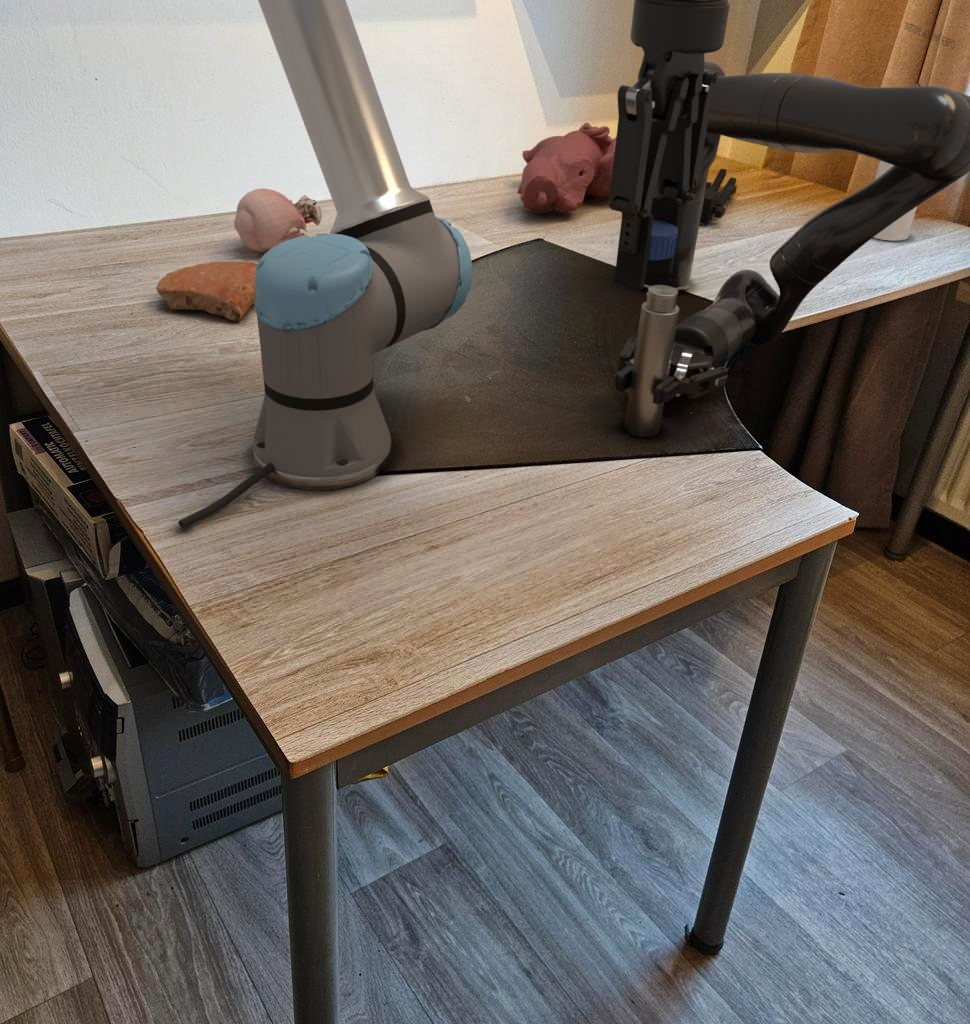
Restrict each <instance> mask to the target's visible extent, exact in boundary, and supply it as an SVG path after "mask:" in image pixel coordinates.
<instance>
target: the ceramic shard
mask: <svg viewBox="0 0 970 1024" xmlns="http://www.w3.org/2000/svg"><path fill="white" fill-rule="evenodd" d="M257 265H258V263H256V262H252V261H210V262H206V263H205V262H204V263H199V264H195V265H192V266H186V267H185V266H184V267H183V268H179V269H177V270H174V271H171V272H168V273H166V274H165V276H163V277H162V278H161V279H159V281H158V283H157V285H156V288H155V289H156V292H157V294H159V295H160V296H161V297H162V298H163V299H164V300H165V302H166V304H167V305H168V307H169V309H172V310H190V311H191V310H195V311H196V310H201V311H206V312H207V313H210V314H211V315H218V316H222V317H225V319H228V320H230V321H234V322H236V321H237V322H238V321H241V319H242V318H243V317H244V316H245V314H246V313H247V312H248V310H249V309H250V308H251V306H252V305H254V297H255V292H256V288H255V272H256V268H257Z"/></svg>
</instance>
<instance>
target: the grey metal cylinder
mask: <svg viewBox="0 0 970 1024" xmlns="http://www.w3.org/2000/svg"><path fill="white" fill-rule="evenodd" d="M678 296H679V292H678V291H677V289H675V288H673V287H670V286H666V285H654V286H651V287H649V289H648V290H647V292H646V301H644V302H643V303H642V304H641V308H640V315H639V323H638V324H639V325H638V330H637V337H636V339H637V343H636V350H635V357H634V364H633V371H632V378H631V385H630V387H629V392H628V400H627V407H626V414H625V420H624V429H625V431H626V432H627V433H628V434H630V435H632V436H635V437H640V438H652V437H655V436H657V435H658V434H659V433H660V429H661V424H662V417H663V410H664V405H665V402H662V403H661V404H660V405H658V404H655V403H653V397H654V391H655V388H656V386H657V385H659V384H660V383H661V382H663V381H664V380H665V379H667V378H668V376H669V370H670V364H671V358H672V352H673V346H674V340H675V334H676V328H677V325H678V320H679V315H680V307H679V306H678V304H677V302H678Z"/></svg>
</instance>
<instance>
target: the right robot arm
mask: <svg viewBox="0 0 970 1024" xmlns="http://www.w3.org/2000/svg"><path fill="white" fill-rule="evenodd" d="M704 61H705V68H704V69H705V70H709V71H715V72H718V80H717V84H716V87H715V90H714V94H713V97H712V101H711V106H710V113H709V119H708V125H707V131H706V137H705V143H704V149H703V156H702V162H701V168H700V174H699V180H698V184H697V186H696V188H694V189H693V188H689V190H690V191H694V192H696V196H695V198H694V200H693V201H692V202H691V201H686V200H682V202H683V206H682V213H681V219H680V225H679V232H678V239H677V246H676V252H675V257H674V264H673V270H672V272H671V273H669V274H667V273H664V272H660V271H656V270H653V269H649V268H647V270H646V277H645V284H644V288H642V290H646V291H648V289H649V287H651V286H654V285H666V286H670V287H673V288H675V289H677V291H678V293H680V292H684V291H686V290H688V289H689V288H690V285H691V276H692V270H693V264H694V259H695V254H696V249H697V248H696V247H697V242H698V235H699V231H700V225H701V224H700V218H701V212H702V207H703V201H704V194H705V188H706V182H708V176H709V172H710V168H711V166H712V165H713V164H714V162H715V159H716V157H717V154H718V150H719V146H720V140H721V136H722V137H727V138H730V139H734V140H737V141H741V142H745V143H746V142H747V143H751V144H755V145H760V146H764V147H768V148H772V149H776V150H782V151H788V152H793V153H802V154H803V153H804V154H823V153H828V152H829V153H830V152H831V153H832V152H849V153H853V154H857V155H861V156H864V157H868V158H872V159H874V160H876V161H877V160H878V161H879V162H880V161H883V162H886V163H889V164H892V165H893V166H892V167H891V168H890V169H889V170H887V171H886V172H885V173H884V174H882V175H881V176H880V177H878V178H877V179H875V178H874V180H873V181H871V182H869V183H868V184H867V185H865V186H863V187H861V188H859V189H858V190H857V191H855V192H853V193H851V194H850V195H848V196H845V197H844V198H842V199H840V200H838V201H836V202H834V203H833V204H831V205H829V206H827V207H825V208H824V209H822V210H821V211H820V212H818V213H816V214H815V215H813V217H811V218H810V219H809V220H807V221H806V222H805V223H804V224H802V226H801V227H800V228H799V229H797V231H795V233H793V234H792V235H791V236H790V237H789V238H788V239H786V241H785V242H784V243H783V244H782V245H781V246H780V247H779V248H778V249H777V250H775V252H774V253H773V254H772V256H771V257H770V259H769V270H770V272H771V275H772V278H773V279H774V281H775V282H776V286H777V288H778V290H779V294H778V293H777V291H776V290H775V289H774V288H773V287H772V286H771V285H770V283H769V282H767V280H766V279H765V278H764V277H763V276H762V275H761V274H760V273H759V272H758V271H755V270H753V269H742V270H739V271H737V272H735V273H733V274H732V275H730V277H729V278H728V279H726V280H725V282H724V283H723V284H722V285H721V287H720V288H719V290H718V292H717V294H716V295H715V298H714V300H713V303H712V304H710V305H709V306H707V307H706V308H705V309H702V310H700V311H697V312H695V313H693V314H692V315H690V316H689V317H687V318H686V319H684V320H683V321H681V322H680V323H677V328H676V334H675V340H674V346H673V352H672V358H671V364H670V370H669V376H668V378H667V379H665V380H664V381H663V382H661V383H660V384H659V385H657V386H656V388H655V391H654V397H653V403H655V404H658V405H660V404H661V403H662V402H664V403H668V402H669V401H670V400H672V399H674V398H675V397H681V396H682V394H685V395H686V397H687V398H688V399H690V400H696V399H699V398H701V397H705V396H707V395H710V394H713V393H715V392H716V393H717V392H719V391H721V390H724V389H725V386H726V383H727V378H728V373H729V368H728V367H726V366H724V365H725V364H726V363H728V362H729V360H731V359H732V358H733V356H734V355H735V354H737V352H738V351H740V350H741V349H742V348H743V347H745V346H746V345H747V344H748V343H750V344H752V345H756V346H761V345H766V344H769V343H771V342H774V341H775V340H776V339H777V338H778V337H780V335H781V334H782V333H783V332H784V330H785V329H786V328H787V326H788V324H789V323H790V321H791V320H792V318H793V316H794V315H795V313H796V311H797V310H798V308H799V307H800V305H801V304H802V302H803V301H804V300H805V299H806V297H808V295H809V294H810V292H811V291H813V290H814V289H815V288H816V286H818V285H819V284H820V283H821V282H822V281H823V280H824V279H826V278H827V277H828V276H829V275H830V274H832V273H833V272H834V271H835V270H836V269H837V268H839V266H841V264H842V263H844V262H845V261H846V260H847V259H848V258H849V257H850V256H852V255H853V254H854V253H856V251H858V250H859V249H860V248H861V247H863V246H864V245H865V244H867V243H868V242H869V241H870V240H872V239H874V236H876V235H877V234H878V233H880V232H881V231H882V230H884V229H885V228H886V227H888V226H889V225H891V224H892V223H893V222H895V221H896V220H898V219H899V218H901V217H902V216H904V215H905V214H907V213H908V212H909V211H911V210H912V209H914V208H915V207H917V208H918V206H920V205H921V204H923V203H924V202H926V201H927V200H928V199H930V198H932V197H934V196H935V195H937V194H938V193H940V192H942V191H943V190H945V189H946V188H947V187H949V186H950V185H953V184H954V183H956V182H957V181H958V180H960V179H961V178H963V177H964V176H966V175H967V174H969V173H970V95H968V94H965V93H962V92H959V91H956V90H954V89H952V88H948V87H944V86H939V85H921V86H917V85H915V86H883V87H882V86H881V87H880V86H879V87H876V86H875V87H874V86H862V85H858V84H853V83H850V82H847V81H843V80H839V79H835V78H831V77H824V76H820V75H819V76H818V75H812V74H802V73H792V72H760V73H759V72H758V73H746V74H736V75H726V73H725V71H724V70H723V68H722V67H721V66H720V65H719V64H718V63H716V62H713V61H708V60H704ZM652 121H657V120H656V119H652ZM657 122H658V121H657ZM656 196H658V197H663V195H661V194H659V174H658V178H657V182H656V186H655V190H654V194H653V197H656ZM652 200H653V198H652ZM651 207H652V202H651ZM651 207H650V211H649V214H651ZM636 343H637V338H633V337H632V338H631V337H630V338H628V339H627V341H626V342H625V344H624V346H623V348H622V350H621V352H620V353H619V360H618V368H617V372H616V374H615V382H614V386H615V390H616V391H618V392H621V393H623V392H625V391H626V390H628V389H630V385H631V378H632V371H633V364H634V357H635V350H636Z"/></svg>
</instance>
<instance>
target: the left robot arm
mask: <svg viewBox="0 0 970 1024" xmlns="http://www.w3.org/2000/svg"><path fill="white" fill-rule="evenodd" d="M257 1H258V4H259V7H260V10H261V12H262V15H263V17H264V20H265V23H266V25H267V28H268V31H269V33H270V36H271V39H272V41H273V44H274V47H275V50H276V52H277V55H278V58H279V60H280V63H281V66H282V69H283V71H284V74H285V77H286V79H287V82H288V84H289V88H290V90H291V93H292V95H293V98H294V100H295V101H294V102H295V103H296V106H297V109H298V111H299V114H300V117H301V120H302V122H303V125H304V129H305V130H306V133H307V136H308V137H309V141H310V144H311V146H312V149H313V152H314V155H315V157H316V160H317V163H318V165H319V168H320V170H321V173H322V176H323V179H324V181H325V184H326V187H327V189H328V192H329V194H330V197H331V200H332V203H333V205H334V208H335V211H336V216H335V219H334V221H333V224H332V227H331V229H330V232H329V233H317V234H315V235H314V236H310V235H306V236H301V237H297V238H293V239H290V240H287V241H285V242H283V243H280V244H278V245H277V246H275V247H273V248H272V249H270V250H269V251H267V252H265V253H264V254H263V255H262V256H261V258H260V259H259V261H258V263H257V264H258V265H257V268H256V272H255V288H256V292H255V297H254V303H253V305H254V310H255V313H256V320H257V328H258V329H257V330H258V337H259V346H260V357H261V368H262V378H263V388H264V390H263V391H264V396H263V400H262V404H261V408H260V412H259V415H258V419H257V423H256V427H255V430H254V434H253V439H252V441H253V442H252V455H253V460H254V464H255V467H256V468H257V471H256V472H255V473H252V475H250V476H249V477H247V478H246V479H244V480H243V481H242V482H240V483H239V484H238V485H237V486H235V487H234V488H233V489H232V490H230V491H229V492H228V493H226V494H225V495H223V496H222V497H220V498H219V499H217V500H216V501H214V502H212V503H211V504H208V505H207V506H206V507H203V508H202V509H200V510H198V511H196V512H194V513H192V514H189V515H187V516H185V517H183V518H181V519H179V520H178V526H179V527H180V528H181V529H182V530H184V529H186V528H188V527H190V526H192V525H194V524H196V523H198V522H200V521H202V520H204V519H206V518H208V517H210V516H212V515H214V514H215V513H217V512H219V511H221V510H222V509H224V508H225V507H226V506H228V505H230V504H231V503H233V502H234V501H235V500H237V499H238V498H239V497H240V496H241V495H243V494H244V493H245V492H247V491H248V490H249V489H251V488H253V486H255V485H256V484H258V483H259V482H260V481H262V480H263V479H265V478H268V479H269V480H271V481H273V482H275V483H278V484H280V485H283V486H286V487H290V488H295V489H301V490H312V491H314V490H315V491H323V490H327V491H328V490H337V489H342V488H348V487H351V486H355V485H358V484H361V483H363V482H366V481H368V480H370V479H373V478H374V477H375V476H377V475H378V474H380V473H381V472H382V471H383V470H384V469H385V468H386V467H387V466H388V464H389V463H390V461H391V458H392V437H391V432H390V430H389V427H388V424H387V422H386V419H385V417H384V413H383V411H382V408H381V406H380V403H379V400H378V398H377V395H376V393H375V385H374V356H375V354H377V353H379V352H380V351H383V350H385V349H387V348H389V347H392V346H394V345H396V344H398V343H400V342H402V341H404V340H406V339H409V338H411V337H413V336H416V335H417V334H419V333H421V332H424V331H425V332H426V331H428V330H432V329H435V328H436V327H438V326H439V325H440V324H442V323H443V322H444V321H446V320H448V319H449V318H451V317H452V316H454V315H455V314H456V313H458V311H459V310H460V309H461V308H462V307H463V306H464V304H465V302H466V299H467V296H468V294H469V293H470V291H471V286H472V283H473V282H472V281H473V261H472V256H471V251H470V249H469V246H468V244H467V242H466V240H465V238H464V235H462V233H461V231H460V230H459V229H458V228H457V227H453V226H452V223H451V222H450V221H448V220H447V219H445V218H442V217H439V216H436V214H435V211H434V209H433V206H432V203H431V200H430V198H429V196H427V195H425V194H424V193H422V192H420V191H418V190H416V189H414V188H413V187H412V186H411V184H410V182H409V178H408V176H407V173H406V170H405V167H404V165H403V162H402V161H403V160H402V159H401V155H400V153H399V150H398V147H397V144H396V142H395V141H396V140H395V139H394V135H393V133H392V129H391V127H390V124H389V121H388V118H387V115H386V112H385V109H384V107H383V104H382V101H381V99H380V95H379V93H378V90H377V87H376V83H375V81H374V78H373V76H372V72H371V69H370V66H369V64H368V63H369V62H368V61H367V57H366V55H365V52H364V50H363V47H362V43H361V41H360V38H359V35H358V34H359V33H358V32H357V29H356V26H355V23H354V20H353V18H352V15H351V12H350V9H349V5H348V4H347V1H346V0H257ZM730 6H731V4H730V3H729V0H633V8H632V9H633V12H632V18H631V25H630V26H631V27H630V35H629V37H630V41H631V43H632V44H633V45H634V46H636V47H639V48H641V49H642V51H643V57H642V61H641V63H640V68H639V70H638V74H637V81H636V82H635V83H634V84H633V85H632V86H630V85H625V84H622V85H620V87H618V90H617V110H618V111H617V112H618V119H617V127H616V128H617V129H616V136H615V137H616V145H615V154H614V163H613V171H612V180H611V189H610V197H608V198H609V199H608V208H609V209H611V210H612V211H615V212H620V213H621V221H620V229H619V237H618V238H619V239H618V245H617V252H616V253H617V255H616V262H615V270H614V277H613V278H614V279H613V283H615V284H619V285H623V286H626V287H628V288H629V287H630V288H632V289H637V290H643V288H644V284H645V277H646V270H647V268H649V269H653V270H656V271H660V272H664V273H667V274H669V273H671V272H672V270H673V264H674V257H675V253H674V255H673V256H672V257H671V258H668V259H664V260H648V255H649V248H650V241H651V234H652V227H653V220H660V221H664V222H668V223H670V224H673V225H674V226H676V227H677V228H678V232H679V225H680V219H681V213H682V206H683V202H682V200H686V201H691V202H692V201H693V200H694V198H695V196H696V192H694V191H690V190H689V188H693V189H694V188H696V186H697V184H698V180H699V174H700V168H701V162H702V156H703V149H704V143H705V137H706V131H707V125H708V119H709V113H710V106H711V101H712V97H713V94H714V90H715V87H716V84H717V80H718V72H715V71H709V70H705V69H704V68H705V61H706V60H705V54H711V53H715V52H717V51H719V50H721V48H722V47H723V46H724V43H725V37H726V31H727V26H728V25H727V24H728V19H729V14H730ZM652 119H656V120H657V121H658V122H657V121H652ZM658 174H659V194H661V195H663V197H658V196H656V197H653V194H654V190H655V186H656V182H657V178H658ZM652 198H653V200H652ZM651 202H652V207H651ZM650 207H651V214H649V211H650ZM677 234H678V233H677Z"/></svg>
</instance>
